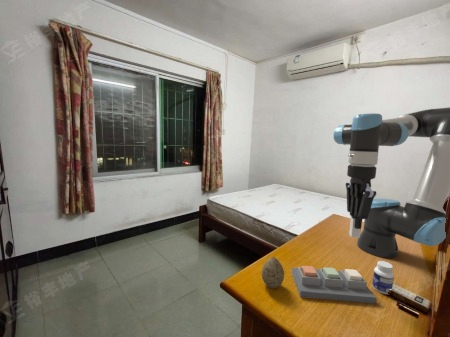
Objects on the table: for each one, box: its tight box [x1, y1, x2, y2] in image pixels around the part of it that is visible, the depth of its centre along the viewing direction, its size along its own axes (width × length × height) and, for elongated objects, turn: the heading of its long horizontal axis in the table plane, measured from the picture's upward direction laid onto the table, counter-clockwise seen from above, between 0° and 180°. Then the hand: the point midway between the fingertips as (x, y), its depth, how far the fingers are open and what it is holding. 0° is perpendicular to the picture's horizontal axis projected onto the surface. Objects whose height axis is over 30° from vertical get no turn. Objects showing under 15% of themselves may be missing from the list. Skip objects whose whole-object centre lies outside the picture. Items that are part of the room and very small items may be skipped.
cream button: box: [344, 268, 363, 281], centre depth 69 cm, size 4×4×3 cm
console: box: [290, 266, 377, 304], centre depth 70 cm, size 22×12×4 cm, turn 85°
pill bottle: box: [371, 260, 395, 295], centre depth 69 cm, size 5×5×9 cm
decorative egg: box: [261, 256, 285, 289], centre depth 69 cm, size 7×7×10 cm
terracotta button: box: [301, 265, 316, 277], centre depth 70 cm, size 4×4×3 cm
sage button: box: [322, 267, 339, 279], centre depth 69 cm, size 4×4×3 cm
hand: (354, 236), depth 69 cm, fingers closed
